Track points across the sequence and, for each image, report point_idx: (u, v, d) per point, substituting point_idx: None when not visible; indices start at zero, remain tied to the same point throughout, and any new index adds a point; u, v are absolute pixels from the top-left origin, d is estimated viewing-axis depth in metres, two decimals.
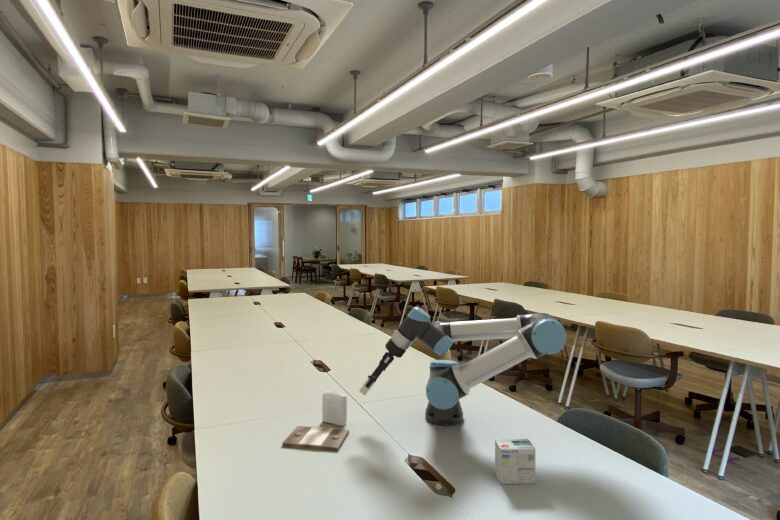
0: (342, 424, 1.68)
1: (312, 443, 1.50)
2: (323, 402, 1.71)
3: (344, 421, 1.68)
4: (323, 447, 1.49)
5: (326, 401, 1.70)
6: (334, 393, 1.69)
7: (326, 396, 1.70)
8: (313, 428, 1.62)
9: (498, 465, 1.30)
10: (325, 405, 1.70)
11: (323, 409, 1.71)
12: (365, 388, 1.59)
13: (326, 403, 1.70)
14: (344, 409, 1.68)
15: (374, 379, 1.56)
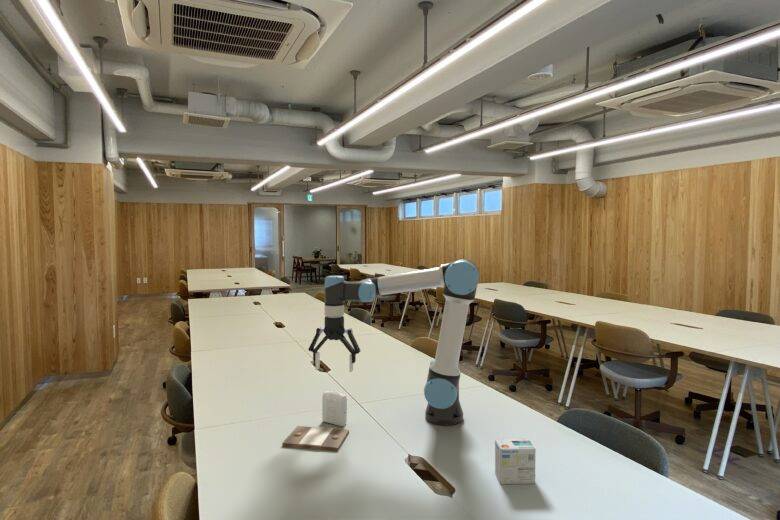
0: (342, 424, 1.68)
1: (312, 443, 1.50)
2: (323, 402, 1.71)
3: (344, 421, 1.68)
4: (323, 447, 1.49)
5: (326, 401, 1.70)
6: (334, 393, 1.69)
7: (326, 396, 1.70)
8: (313, 428, 1.62)
9: (498, 465, 1.30)
10: (325, 405, 1.70)
11: (323, 409, 1.71)
12: None
13: (326, 403, 1.70)
14: (344, 409, 1.68)
15: None
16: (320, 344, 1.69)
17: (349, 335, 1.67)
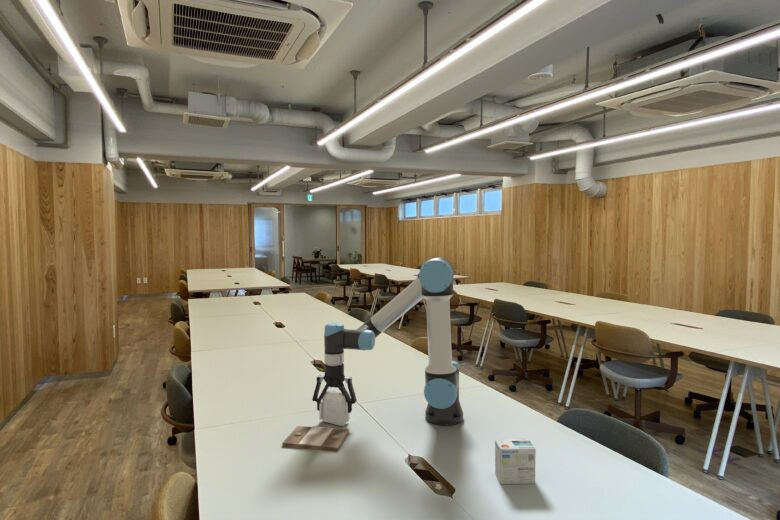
0: (342, 424, 1.68)
1: (312, 443, 1.50)
2: (323, 402, 1.71)
3: (344, 421, 1.68)
4: (323, 447, 1.49)
5: (326, 401, 1.70)
6: (334, 393, 1.69)
7: (326, 395, 1.70)
8: (313, 428, 1.62)
9: (498, 465, 1.30)
10: (325, 405, 1.70)
11: (323, 409, 1.71)
12: None
13: (326, 403, 1.70)
14: (344, 409, 1.68)
15: None
16: (322, 393, 1.70)
17: (348, 384, 1.68)
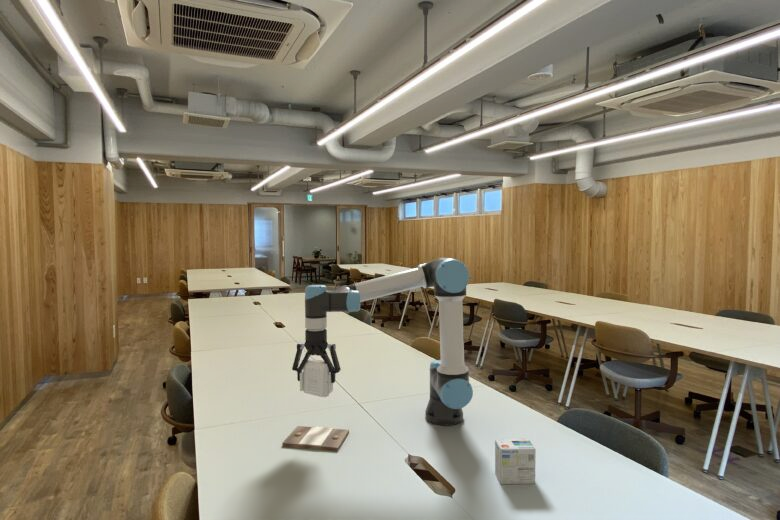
0: (324, 395, 1.53)
1: (312, 443, 1.50)
2: (304, 372, 1.56)
3: (327, 392, 1.53)
4: (323, 447, 1.49)
5: (307, 370, 1.55)
6: (316, 361, 1.54)
7: (307, 364, 1.55)
8: (313, 428, 1.62)
9: (498, 465, 1.30)
10: (306, 375, 1.55)
11: (304, 379, 1.56)
12: None
13: (307, 373, 1.55)
14: (327, 379, 1.53)
15: None
16: (303, 362, 1.55)
17: (331, 351, 1.53)
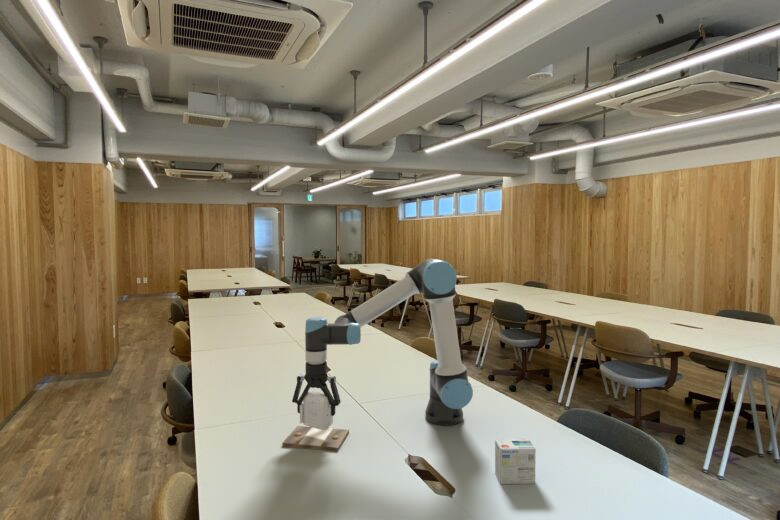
0: (324, 428, 1.53)
1: (312, 443, 1.50)
2: (304, 404, 1.56)
3: (327, 425, 1.53)
4: (323, 447, 1.49)
5: (307, 402, 1.55)
6: (316, 394, 1.54)
7: (307, 397, 1.55)
8: (313, 428, 1.62)
9: (498, 465, 1.30)
10: (306, 407, 1.56)
11: (304, 411, 1.56)
12: None
13: (307, 405, 1.55)
14: (327, 411, 1.53)
15: None
16: (303, 394, 1.55)
17: (331, 384, 1.53)
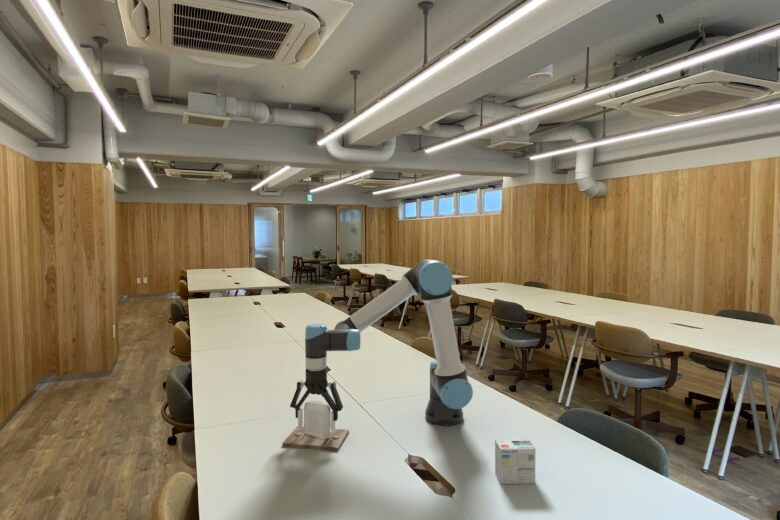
0: (325, 437, 1.53)
1: (312, 443, 1.50)
2: (305, 413, 1.56)
3: (327, 434, 1.54)
4: (323, 447, 1.49)
5: (308, 412, 1.55)
6: (316, 403, 1.55)
7: (308, 406, 1.55)
8: None
9: (498, 465, 1.30)
10: (307, 416, 1.56)
11: (305, 420, 1.57)
12: None
13: (307, 414, 1.56)
14: (327, 421, 1.53)
15: None
16: (302, 400, 1.55)
17: (332, 390, 1.53)
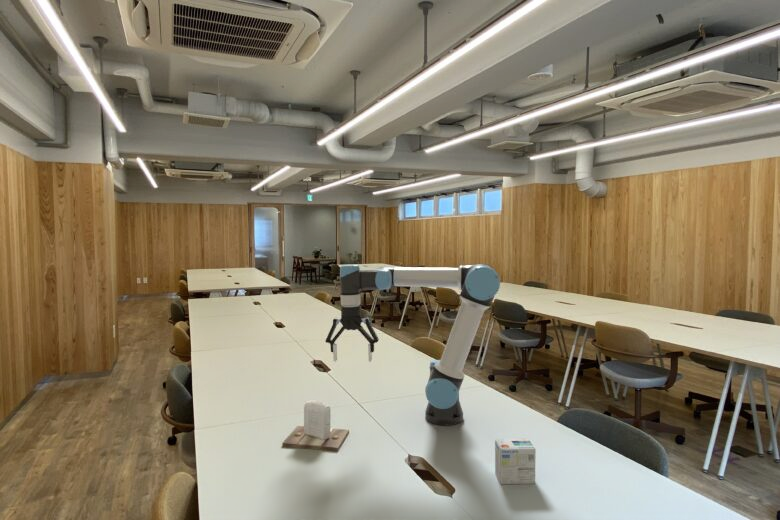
0: (325, 437, 1.53)
1: (312, 443, 1.50)
2: (305, 413, 1.56)
3: (327, 434, 1.54)
4: (323, 447, 1.49)
5: (308, 412, 1.55)
6: (316, 403, 1.55)
7: (308, 406, 1.55)
8: None
9: (498, 465, 1.30)
10: (307, 416, 1.56)
11: (305, 420, 1.57)
12: None
13: (307, 414, 1.56)
14: (327, 421, 1.53)
15: None
16: (337, 335, 1.66)
17: (367, 324, 1.65)
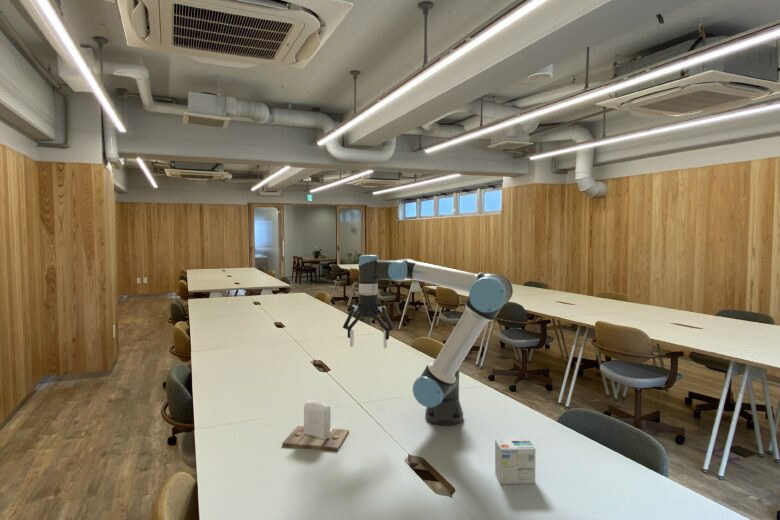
0: (325, 437, 1.53)
1: (312, 443, 1.50)
2: (305, 413, 1.56)
3: (327, 434, 1.54)
4: (323, 447, 1.49)
5: (308, 412, 1.55)
6: (316, 403, 1.55)
7: (308, 406, 1.55)
8: None
9: (498, 465, 1.30)
10: (307, 416, 1.56)
11: (305, 420, 1.57)
12: None
13: (307, 414, 1.56)
14: (327, 421, 1.53)
15: None
16: (354, 321, 1.74)
17: (383, 312, 1.71)
